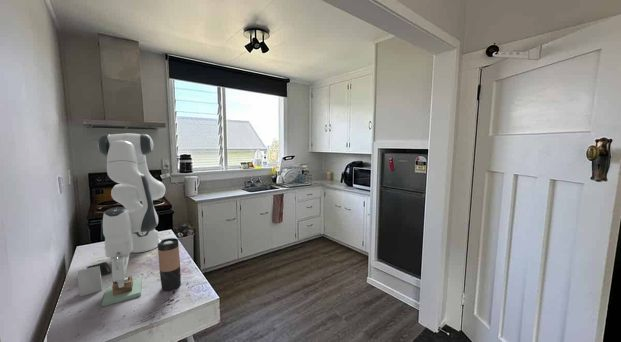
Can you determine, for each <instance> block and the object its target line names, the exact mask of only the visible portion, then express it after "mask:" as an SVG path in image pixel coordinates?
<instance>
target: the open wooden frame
mask: <svg viewBox="0 0 621 342" xmlns="http://www.w3.org/2000/svg"><path fill="white" fill-rule="evenodd" d="M127 277H128V281H125V282H124V287H121V288H119V287H118V283H117V282H114V281H113V280H112V285H111V286H112V289H113V296H115V295H119V294H122V293H126V292H130V291H132V287H133V281H134V280H133V275H132V274H131V275H126V276H125V278H127Z"/></svg>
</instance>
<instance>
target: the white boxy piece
mask: <svg viewBox="0 0 621 342" xmlns="http://www.w3.org/2000/svg"><path fill="white" fill-rule="evenodd" d="M77 281H78V284H77V285H78V289H79V297H83V296H88V295H90V294H94V293H98V292H100V291H103V280H102V277H101V271H100V266H97V267H92V268H88V269H87V268H84V269H81V270H77Z"/></svg>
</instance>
